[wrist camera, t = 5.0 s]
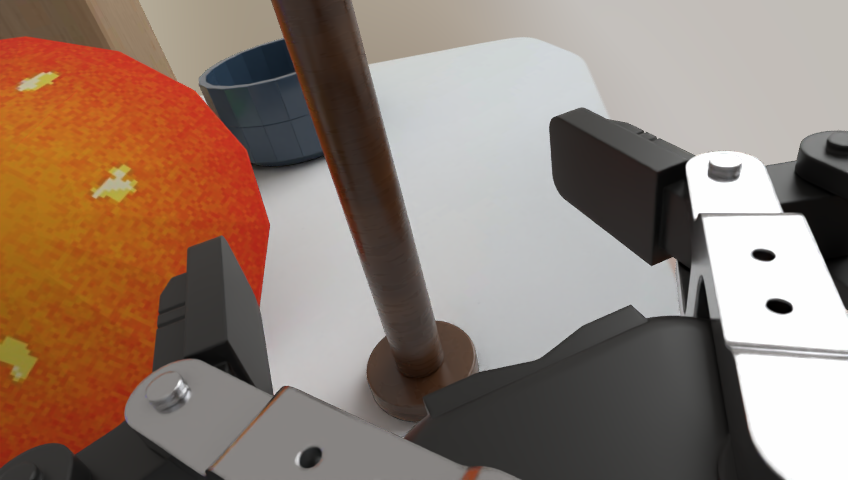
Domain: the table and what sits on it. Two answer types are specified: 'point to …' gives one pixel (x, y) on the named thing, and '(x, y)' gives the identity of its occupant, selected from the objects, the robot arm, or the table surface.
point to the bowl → (263, 105)
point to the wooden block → (87, 26)
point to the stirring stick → (372, 207)
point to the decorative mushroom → (101, 229)
